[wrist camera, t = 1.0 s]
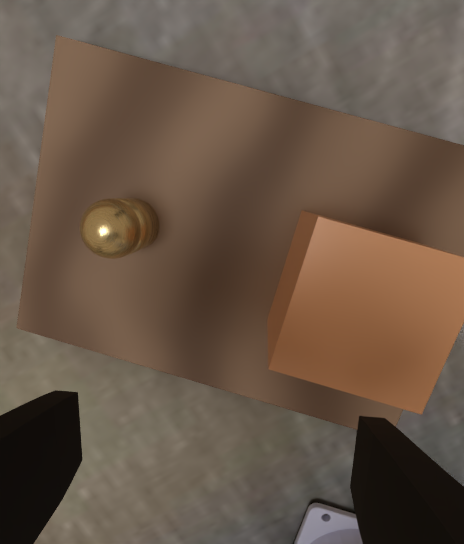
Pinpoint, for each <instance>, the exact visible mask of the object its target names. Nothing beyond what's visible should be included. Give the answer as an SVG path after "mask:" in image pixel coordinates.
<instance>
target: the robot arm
mask: <svg viewBox="0 0 464 544" xmlns="http://www.w3.org/2000/svg"><path fill="white" fill-rule="evenodd" d="M81 462H82V448H81V433H80V418H79V404H78V392H68V391H53V392H50V393H48V394H45V395H43V396H41V397H39V398H36V399H34V400H32V401H30V402H28V403H26V404H23V405H21V406H19V407H17V408H15V409H13V410H11V411H9V412H7V413H5V414H3V415H1V416H0V544H33V543H34V542H35V540H36V539H37V537H38V536H39V534H40V533H41V531H42V530H43V528H44V527H45V525H46V524H47V522H48V521H49V519H50V518H51V516H52V515H53V513H54V512H55V510H56V508H57V507H58V505H59V504H60V502H61V501H62V499H63V497H64V495H65V493H66V491H67V489H68V488H69V486H70V484H71V482H72V480H73V478H74V476H75V474H76V472H77V470H78V468H79V466H80V464H81ZM350 488H351V493H352V498H353V504H354V509H355V514H353V513H350V512H347V511H343V510H340V509H337V508H334V507H330V506H327V505H324V504H321V503H312V504H311V505H310V506H309V507H308V510H307V512H306V515H305V517H304V520H303V522H302V525H301V527H300V530H299V532H298V535H297V537H296V540H295V542H294V544H464V487H463V486H462V485H461V484H460V483H459V482H457V481H456V480H455V479H454V478H453V477H451V476H450V475H449V474H448V473H447V472H446V471H445V470H443V469H442V468H441V467H440V466H439V465H438V464H437V463H435V462H434V461H433V460H432V459H431V458H430V457H429V456H428V455H426V454H425V453H424V452H423V451H422V450H421V449H420V448H419V447H418V446H416V445H415V444H414V443H413V442H412V441H411V440H410V439H409V438H407V437H406V436H405V435H404V434H403V433H402V432H401V431H400V430H399V429H397V428H396V427H395V426H394V425H393V424H392V423H390V422H389V421H388V420H387V419H386V418H380V417H368V416H359V421H358V429H357V437H356V445H355V453H354V461H353V469H352V477H351V485H350ZM324 514H328V515H324Z"/></svg>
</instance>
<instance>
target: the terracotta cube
mask: <svg viewBox="0 0 464 544" xmlns="http://www.w3.org/2000/svg"><path fill="white" fill-rule="evenodd" d="M463 323H464V257H463V256H460V255H456V254H453V253H450V252H447V251H443V250H440V249H437V248H433V247H430V246H427V245H424V244H420V243H417V242H413V241H410V240H406V239H403V238H399V237H395V236H392V235H388V234H385V233H381V232H378V231H374V230H370V229H367V228H363V227H360V226H356V225H353V224H349V223H346V222H342V221H338V220H335V219H331V218H328V217H324V216H321V215H317V214H313V213H310V212H306V211H303V210H302V211H301V214H300V217H299V220H298V224H297V227H296V230H295V233H294V236H293V239H292V243H291V246H290V249H289V252H288V255H287V258H286V262H285V265H284V268H283V271H282V274H281V277H280V281H279V284H278V287H277V290H276V293H275V296H274V300H273V303H272V306H271V309H270V312H269V316H268V319H267V331H268V369H269V370H272V371H276V372H279V373H283V374H286V375H289V376H293V377H296V378H300V379H303V380H306V381H310V382H313V383H316V384H320V385H323V386H327V387H330V388H333V389H337V390H340V391H344V392H347V393H350V394H354V395H357V396H360V397H364V398H367V399H371V400H374V401H377V402H381V403H384V404H387V405H391V406H394V407H398V408H401V409H404V410H408V411H411V412H415V413H418V414H421V415H422V412H423V410H424V408H425V406H426V404H427V401H428V399H429V397H430V395H431V393H432V391H433V388H434V386H435V384H436V382H437V380H438V377H439V375H440V373H441V371H442V369H443V366H444V364H445V362H446V360H447V358H448V356H449V353H450V351H451V349H452V347H453V345H454V342H455V340H456V338H457V336H458V334H459V331H460V329H461V327H462V325H463Z"/></svg>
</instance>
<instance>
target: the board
mask: <svg viewBox="0 0 464 544" xmlns="http://www.w3.org/2000/svg"><path fill="white" fill-rule="evenodd" d="M115 198H137V199H141V200H143V201H145V202H147V203H148V204H150V205H151V206H152V207H153V209H154V210H155V211H156V213H157V216H158V219H159V232H158V235H157V237H156V239H155V240H154V242H153V243H152V244H151V245H149V246H148V247H146V248H143V249H141V250H139V251H136V252H134V253H132V254H129V255H127V256H125V257H122V258H117V259H108V258H103V257H100V256H98V255H96V254H94V253H93V252H91V251H90V250H89V249H88V248H87V247H86V245H85V244H84V242H83V240H82V238H81V235H80V221H81V217H82V215H83V213H84V212H85V210H86V209H87V208H88V207H89V206H90V205H91V204H93V203H95V202H97V201H99V200H103V199H115ZM302 210H303V211H306V212H310V213H313V214H317V215H321V216H324V217H328V218H331V219H335V220H338V221H342V222H346V223H349V224H353V225H356V226H360V227H363V228H367V229H370V230H374V231H378V232H381V233H385V234H388V235H392V236H395V237H399V238H403V239H406V240H410V241H413V242H417V243H420V244H424V245H427V246H430V247H433V248H437V249H440V250H443V251H447V252H450V253H453V254H456V255H460V256H463V257H464V145H460V144H456V143H453V142H449V141H445V140H442V139H438V138H434V137H431V136H427V135H423V134H420V133H416V132H412V131H408V130H405V129H401V128H397V127H394V126H390V125H386V124H383V123H379V122H375V121H372V120H368V119H364V118H360V117H357V116H353V115H349V114H346V113H342V112H338V111H335V110H331V109H327V108H324V107H320V106H316V105H313V104H309V103H305V102H301V101H298V100H294V99H290V98H287V97H283V96H279V95H276V94H272V93H268V92H265V91H261V90H257V89H253V88H250V87H246V86H242V85H239V84H235V83H231V82H228V81H224V80H220V79H217V78H213V77H209V76H205V75H202V74H198V73H194V72H191V71H187V70H183V69H180V68H176V67H172V66H169V65H165V64H161V63H158V62H154V61H150V60H146V59H143V58H139V57H135V56H132V55H128V54H124V53H121V52H117V51H113V50H110V49H106V48H102V47H98V46H95V45H91V44H87V43H84V42H80V41H76V40H73V39H69V38H65V37H62V36H58V35H56V42H55V49H54V56H53V64H52V71H51V78H50V86H49V93H48V100H47V108H46V115H45V123H44V130H43V137H42V145H41V152H40V159H39V167H38V174H37V181H36V189H35V196H34V203H33V211H32V218H31V226H30V233H29V240H28V248H27V255H26V262H25V270H24V277H23V284H22V292H21V299H20V306H19V314H18V321H17V328H18V329H21V330H25V331H28V332H31V333H35V334H38V335H41V336H45V337H48V338H52V339H55V340H58V341H62V342H65V343H68V344H72V345H75V346H78V347H82V348H85V349H88V350H92V351H95V352H98V353H102V354H105V355H108V356H112V357H115V358H119V359H122V360H125V361H129V362H132V363H135V364H139V365H142V366H145V367H149V368H152V369H155V370H159V371H162V372H165V373H169V374H172V375H175V376H179V377H182V378H186V379H189V380H192V381H196V382H199V383H202V384H206V385H209V386H212V387H216V388H219V389H222V390H226V391H229V392H232V393H236V394H239V395H242V396H246V397H249V398H253V399H256V400H259V401H263V402H266V403H269V404H273V405H276V406H279V407H283V408H286V409H289V410H293V411H296V412H299V413H303V414H306V415H309V416H313V417H316V418H320V419H323V420H326V421H330V422H333V423H336V424H340V425H343V426H346V427H350V428H353V429H356V430H357V429H358V421H359V416H368V417H380V418H386V419H387V420H388V421H389V422H390V423H392V424H393V425H394V426H395V427H396V425H397V422H398V420H399V418H400V416H401V413H402V411H403V409H401V408H398V407H394V406H391V405H387V404H384V403H381V402H377V401H374V400H371V399H367V398H364V397H360V396H357V395H354V394H350V393H347V392H344V391H340V390H337V389H333V388H330V387H327V386H323V385H320V384H316V383H313V382H310V381H306V380H303V379H300V378H296V377H293V376H289V375H286V374H283V373H279V372H276V371H272V370H269V369H268V331H267V319H268V316H269V312H270V309H271V306H272V303H273V300H274V296H275V293H276V290H277V287H278V284H279V281H280V277H281V274H282V271H283V268H284V265H285V262H286V258H287V255H288V252H289V249H290V246H291V243H292V239H293V236H294V233H295V230H296V227H297V224H298V220H299V217H300V214H301V211H302Z"/></svg>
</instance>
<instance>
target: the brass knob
mask: <svg viewBox="0 0 464 544" xmlns="http://www.w3.org/2000/svg"><path fill="white" fill-rule="evenodd" d="M158 232H159V219H158V216H157V213H156V211H155V210H154V209H153V207H152V206H151V205H150V204H148V203H147V202H145V201H143V200H141V199H137V198H115V199H103V200H99V201H97V202H95V203H93V204H91V205H90V206H89V207H88V208H87V209H86V210H85V212H84V213H83V215H82V217H81V221H80V235H81V238H82V240H83V242H84V244H85V245H86V247H87V248H88V249H89V250H90V251H91V252H93V253H94V254H96V255H98V256H100V257H103V258H108V259H117V258H122V257H125V256H127V255H129V254H132V253H134V252H136V251H139V250H141V249H143V248H146V247H148V246H149V245H151V244H152V243H153V242H154V240H155V239H156V237H157V235H158Z"/></svg>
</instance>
